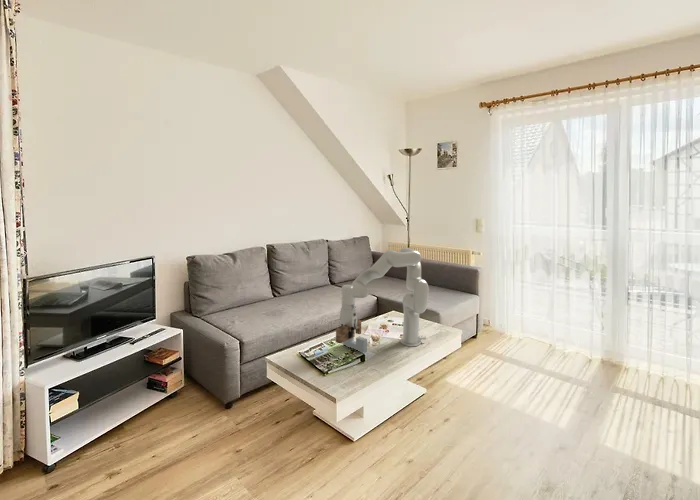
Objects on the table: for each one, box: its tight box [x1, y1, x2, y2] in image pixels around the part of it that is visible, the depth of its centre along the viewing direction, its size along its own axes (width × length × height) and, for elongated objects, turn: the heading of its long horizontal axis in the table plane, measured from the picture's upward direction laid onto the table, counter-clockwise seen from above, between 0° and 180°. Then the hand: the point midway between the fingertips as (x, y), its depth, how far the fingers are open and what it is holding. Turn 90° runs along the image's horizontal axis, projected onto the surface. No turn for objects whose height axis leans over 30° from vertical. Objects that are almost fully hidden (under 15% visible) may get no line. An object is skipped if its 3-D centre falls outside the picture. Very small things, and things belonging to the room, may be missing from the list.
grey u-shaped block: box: [342, 336, 368, 354], centre depth 232 cm, size 16×3×8 cm, turn 50°
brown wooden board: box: [335, 319, 362, 344], centre depth 226 cm, size 19×3×8 cm, turn 139°
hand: (348, 336), depth 226 cm, fingers closed on brown wooden board, 3 cm apart
